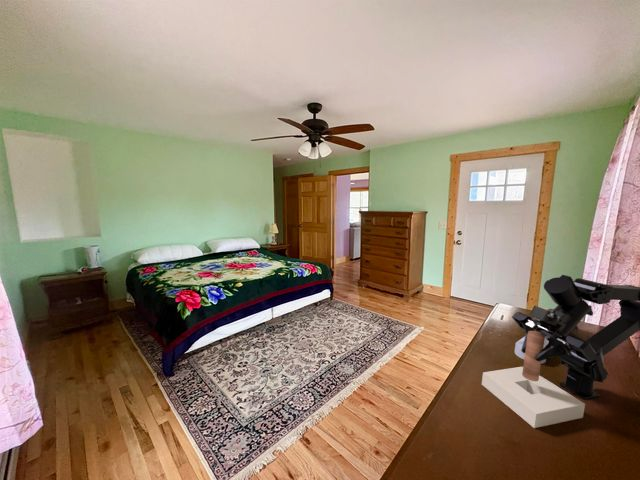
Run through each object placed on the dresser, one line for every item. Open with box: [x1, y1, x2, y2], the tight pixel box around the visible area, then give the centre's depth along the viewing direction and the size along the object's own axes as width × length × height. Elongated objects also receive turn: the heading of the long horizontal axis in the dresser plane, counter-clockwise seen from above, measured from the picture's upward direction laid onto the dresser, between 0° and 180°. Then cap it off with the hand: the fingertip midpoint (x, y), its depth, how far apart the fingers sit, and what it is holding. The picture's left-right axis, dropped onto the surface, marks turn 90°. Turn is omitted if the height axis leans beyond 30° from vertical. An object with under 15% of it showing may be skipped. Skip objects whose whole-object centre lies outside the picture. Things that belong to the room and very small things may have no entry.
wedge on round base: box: [514, 336, 549, 365], centre depth 96 cm, size 9×7×13 cm
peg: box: [522, 331, 545, 381], centre depth 72 cm, size 4×4×13 cm
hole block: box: [481, 366, 586, 429], centre depth 73 cm, size 16×16×4 cm
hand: (529, 356), depth 72 cm, fingers closed on peg, 4 cm apart
